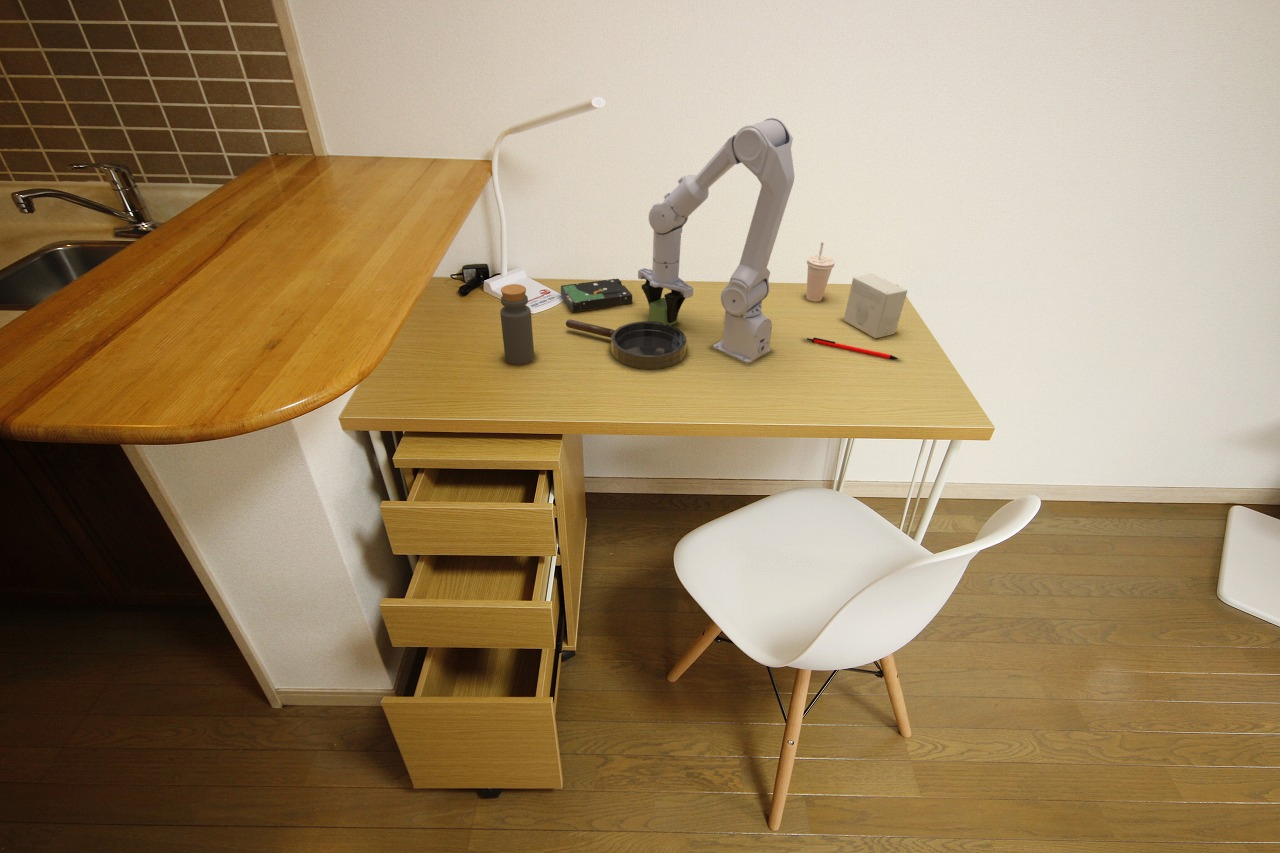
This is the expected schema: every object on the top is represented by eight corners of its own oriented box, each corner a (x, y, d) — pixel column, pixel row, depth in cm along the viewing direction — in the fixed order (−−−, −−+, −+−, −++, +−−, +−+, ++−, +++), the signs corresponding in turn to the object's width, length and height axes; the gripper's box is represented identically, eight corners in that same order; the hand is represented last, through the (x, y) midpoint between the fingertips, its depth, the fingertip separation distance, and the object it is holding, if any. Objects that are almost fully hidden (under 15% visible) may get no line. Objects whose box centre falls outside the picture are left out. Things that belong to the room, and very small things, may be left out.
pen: (807, 339, 143) (808, 335, 142) (898, 359, 136) (899, 354, 136) (806, 341, 142) (807, 337, 141) (897, 361, 136) (899, 356, 135)
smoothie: (795, 294, 162) (805, 238, 154) (818, 291, 164) (829, 236, 155) (808, 305, 157) (819, 248, 149) (832, 302, 159) (844, 245, 151)
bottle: (538, 353, 135) (533, 284, 126) (527, 367, 130) (521, 297, 122) (512, 349, 136) (505, 281, 127) (500, 362, 131) (492, 292, 123)
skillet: (700, 352, 137) (701, 339, 135) (649, 379, 128) (649, 364, 126) (647, 327, 145) (647, 314, 144) (596, 350, 136) (595, 337, 134)
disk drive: (617, 288, 163) (560, 295, 158) (618, 277, 161) (559, 284, 156) (632, 305, 155) (572, 313, 150) (633, 294, 153) (572, 302, 149)
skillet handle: (617, 336, 139) (617, 328, 138) (613, 340, 138) (613, 332, 137) (568, 324, 143) (568, 317, 142) (564, 328, 141) (563, 320, 140)
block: (677, 323, 148) (678, 303, 145) (663, 329, 145) (664, 310, 142) (662, 316, 150) (663, 297, 147) (648, 322, 147) (649, 303, 145)
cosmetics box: (896, 333, 146) (909, 289, 140) (875, 339, 143) (887, 294, 137) (863, 314, 153) (873, 272, 147) (842, 320, 151) (851, 276, 145)
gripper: (628, 254, 141) (627, 312, 148) (679, 273, 132) (675, 334, 140) (651, 246, 145) (649, 303, 153) (701, 265, 137) (696, 324, 144)
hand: (663, 317), depth 147 cm, fingers closed on block, 4 cm apart
